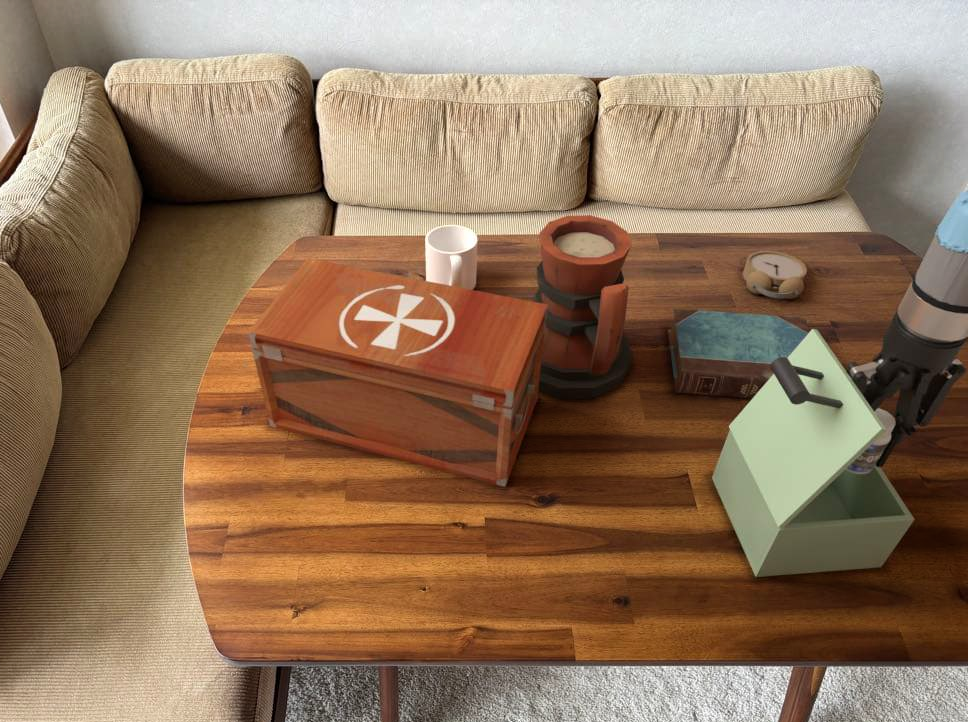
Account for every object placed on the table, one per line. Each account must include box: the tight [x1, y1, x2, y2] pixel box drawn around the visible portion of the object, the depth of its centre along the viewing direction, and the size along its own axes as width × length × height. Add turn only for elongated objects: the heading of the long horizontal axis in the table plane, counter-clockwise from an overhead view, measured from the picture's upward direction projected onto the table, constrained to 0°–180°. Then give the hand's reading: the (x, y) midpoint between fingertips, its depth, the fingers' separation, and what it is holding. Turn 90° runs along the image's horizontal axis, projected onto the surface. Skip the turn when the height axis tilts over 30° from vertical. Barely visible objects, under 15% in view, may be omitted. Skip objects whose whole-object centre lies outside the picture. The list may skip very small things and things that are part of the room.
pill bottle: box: [845, 407, 896, 474], centre depth 100 cm, size 5×5×8 cm
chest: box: [711, 430, 915, 578], centre depth 107 cm, size 18×18×11 cm
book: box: [667, 308, 811, 400], centre depth 133 cm, size 23×18×5 cm
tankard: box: [532, 214, 633, 400], centre depth 128 cm, size 22×25×25 cm
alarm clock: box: [742, 250, 808, 300], centre depth 150 cm, size 11×5×15 cm
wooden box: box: [247, 257, 548, 488], centre depth 121 cm, size 20×41×20 cm, turn 70°
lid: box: [728, 328, 887, 528], centre depth 96 cm, size 18×18×8 cm
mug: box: [424, 224, 478, 290], centre depth 150 cm, size 13×10×10 cm
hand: (855, 460), depth 102 cm, fingers closed on pill bottle, 5 cm apart
